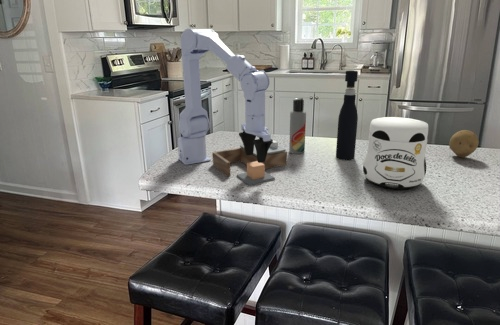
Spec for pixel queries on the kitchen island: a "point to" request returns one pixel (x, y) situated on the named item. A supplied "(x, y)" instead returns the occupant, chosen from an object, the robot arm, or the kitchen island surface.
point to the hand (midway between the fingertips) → (255, 158)
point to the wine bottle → (347, 121)
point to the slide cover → (272, 149)
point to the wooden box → (245, 159)
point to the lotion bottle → (297, 127)
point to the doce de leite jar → (396, 152)
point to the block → (255, 170)
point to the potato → (463, 143)
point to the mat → (251, 181)
